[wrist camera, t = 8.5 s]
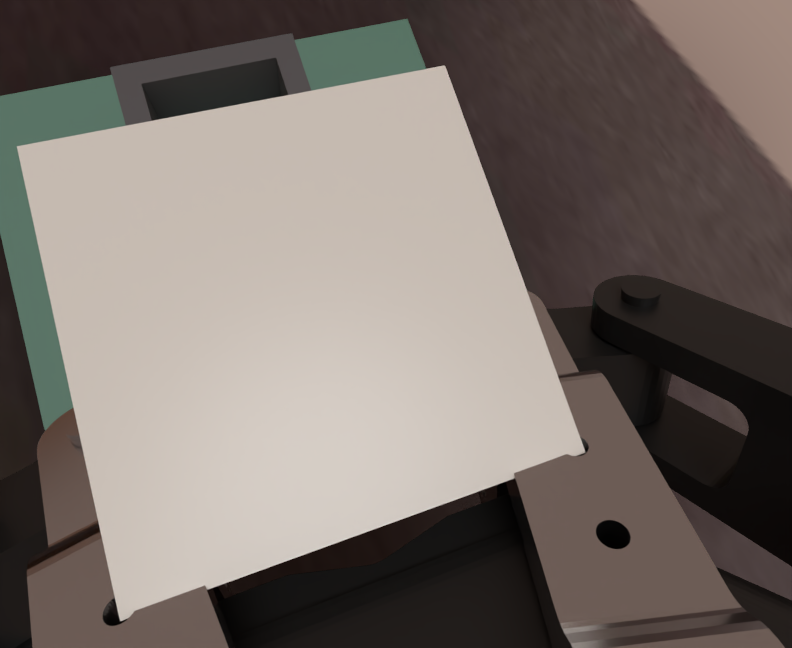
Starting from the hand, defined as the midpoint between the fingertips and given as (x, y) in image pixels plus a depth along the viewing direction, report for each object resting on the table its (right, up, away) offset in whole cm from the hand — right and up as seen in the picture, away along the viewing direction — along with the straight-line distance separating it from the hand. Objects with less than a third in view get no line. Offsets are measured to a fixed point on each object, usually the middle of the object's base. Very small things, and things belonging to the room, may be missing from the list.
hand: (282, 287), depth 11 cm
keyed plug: (0, -3, +4) cm, 5 cm away
